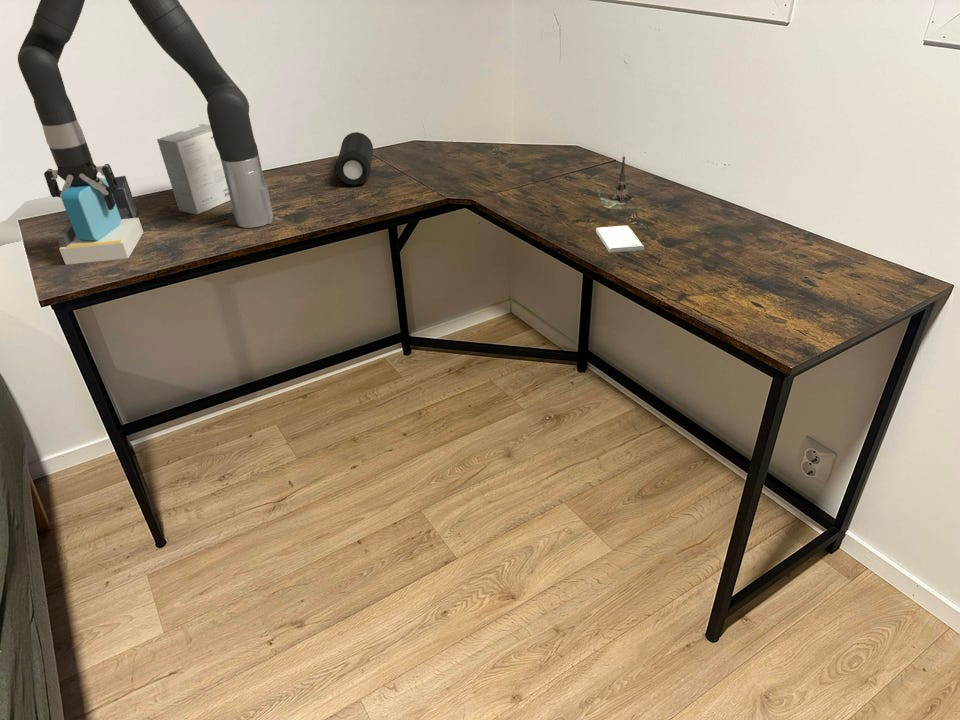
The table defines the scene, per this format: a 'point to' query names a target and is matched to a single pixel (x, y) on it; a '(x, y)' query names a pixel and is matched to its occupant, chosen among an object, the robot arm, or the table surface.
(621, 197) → the eiffel tower figurine
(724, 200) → the table surface
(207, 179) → the hard drive box
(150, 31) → the robot arm
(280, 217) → the table surface
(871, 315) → the table surface
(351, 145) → the portable speaker
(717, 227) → the table surface
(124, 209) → the small box
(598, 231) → the hard drive
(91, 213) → the data package
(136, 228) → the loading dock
